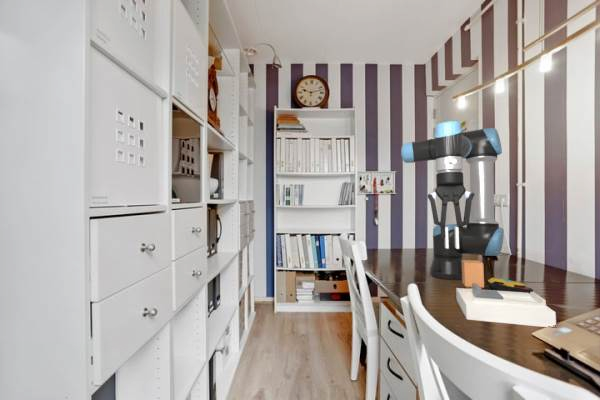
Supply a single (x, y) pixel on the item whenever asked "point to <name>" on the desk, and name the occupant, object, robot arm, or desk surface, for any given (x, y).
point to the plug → (472, 273)
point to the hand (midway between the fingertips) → (451, 247)
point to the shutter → (484, 292)
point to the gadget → (507, 285)
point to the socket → (507, 308)
